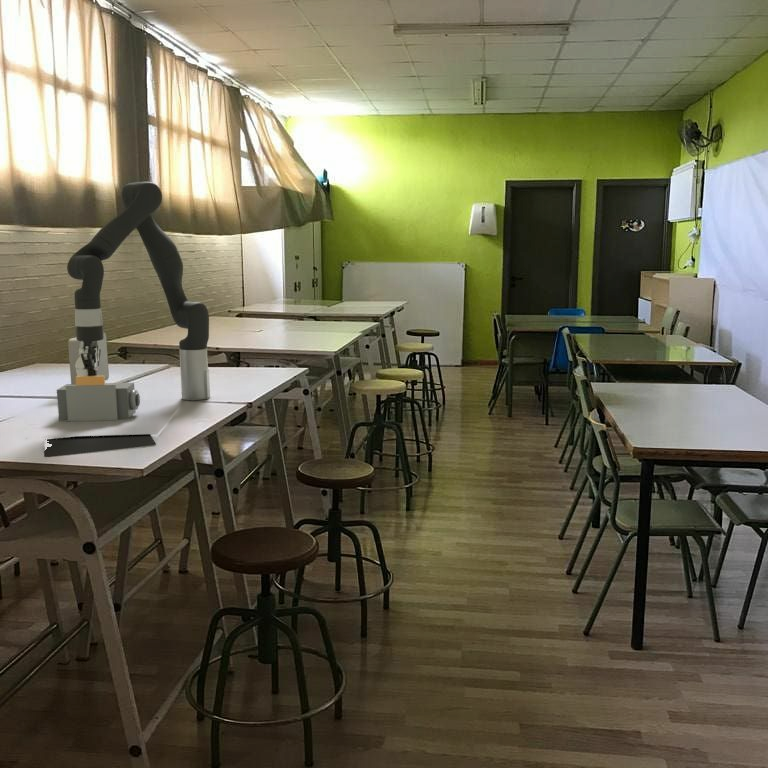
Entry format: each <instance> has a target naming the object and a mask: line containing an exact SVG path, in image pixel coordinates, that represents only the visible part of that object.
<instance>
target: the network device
mask: <svg viewBox="0 0 768 768" xmlns="http://www.w3.org/2000/svg"><path fill="white" fill-rule="evenodd" d="M103 336H104V338H103V340H100V341H97V343H98V346H99V349H101V353H100V361H99V366H98V368H97V376H105V381H108V380H109V378H110V373H109V370H110V369H109V358H108V357H109V355H108V343H107V342H108V341H107V333H106V332H103ZM67 346H68V348H67V349H68V357H69V358H68V360H69V371H70V373H69V374H70V375H69V376H70V384H76V378H75V377H76V376H77V372H76V368H75V364H76V361H77V360H78V358H79V357H80V355H79V348H82V347H83V341H78V340H77V339H76V337H72V338H69V339H68V341H67Z"/></svg>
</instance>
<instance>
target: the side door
mask: <svg viewBox="0 0 768 768" xmlns="http://www.w3.org/2000/svg"><path fill="white" fill-rule="evenodd" d="M75 378H76V385H66V384H65V385H66V399H67V412H68V420H67V421H68V422H82V421H83V422H85V421H87V422H89V421H92V422H93V421H117V420H119V419H118V410H117V395H116V384H105V383H106V380H105V376H76V377H75Z"/></svg>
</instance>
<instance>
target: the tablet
mask: <svg viewBox="0 0 768 768" xmlns="http://www.w3.org/2000/svg"><path fill="white" fill-rule="evenodd" d="M46 439H47V441H49V442H47V443H49V444H52V446H51V447H47V449H46V450H45V451H44V450H43V458H55V457H63V456H65V457H66V456H74V455H75V456H76V455H84V454H92V453H100V452H101V453H104V452H112V451H113V452H114V451H122V450H123V451H124V450H130V449H131V450H132V449H141V448H150V447H156V446H157V442H156V441H155V440H154V437H153V436H152V435H151V433H142V434H110V435H108V434H106V435H75V436H74V435H73V436H66V437H65V436H64V437H56V438H46Z"/></svg>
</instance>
